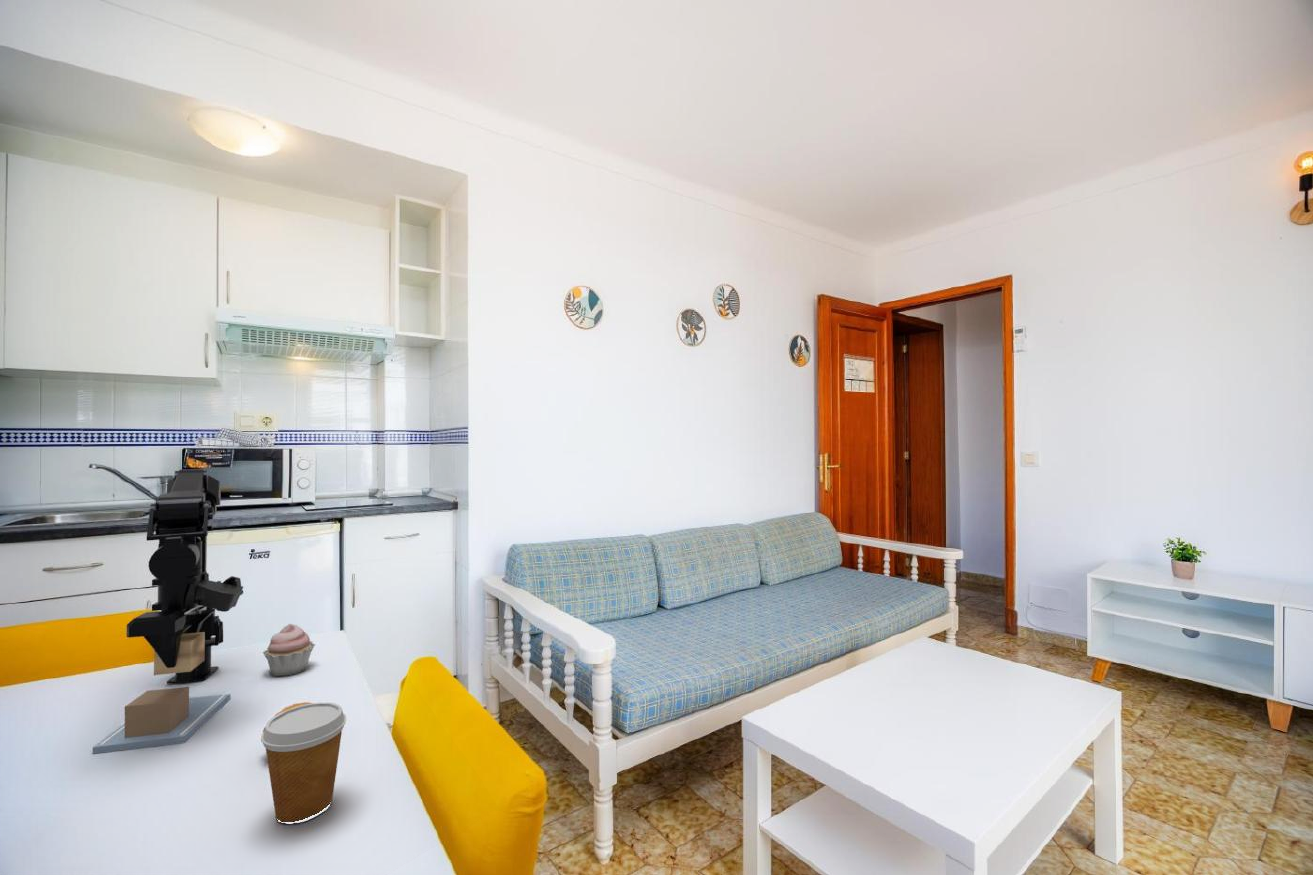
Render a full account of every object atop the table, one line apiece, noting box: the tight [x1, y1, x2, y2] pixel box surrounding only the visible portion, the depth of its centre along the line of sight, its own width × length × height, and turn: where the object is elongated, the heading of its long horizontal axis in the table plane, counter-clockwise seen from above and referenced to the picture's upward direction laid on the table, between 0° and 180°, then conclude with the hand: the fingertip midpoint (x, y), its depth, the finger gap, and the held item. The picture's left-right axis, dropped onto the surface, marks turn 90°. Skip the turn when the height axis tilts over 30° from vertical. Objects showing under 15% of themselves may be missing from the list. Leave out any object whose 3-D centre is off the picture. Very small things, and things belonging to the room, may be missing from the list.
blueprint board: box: [92, 686, 231, 755], centre depth 96 cm, size 16×12×6 cm
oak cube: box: [153, 632, 205, 676], centre depth 95 cm, size 5×5×5 cm
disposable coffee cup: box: [260, 702, 347, 822], centre depth 74 cm, size 10×10×12 cm
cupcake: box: [262, 623, 316, 677], centre depth 119 cm, size 9×9×10 cm
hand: (179, 661), depth 95 cm, fingers closed on oak cube, 5 cm apart
